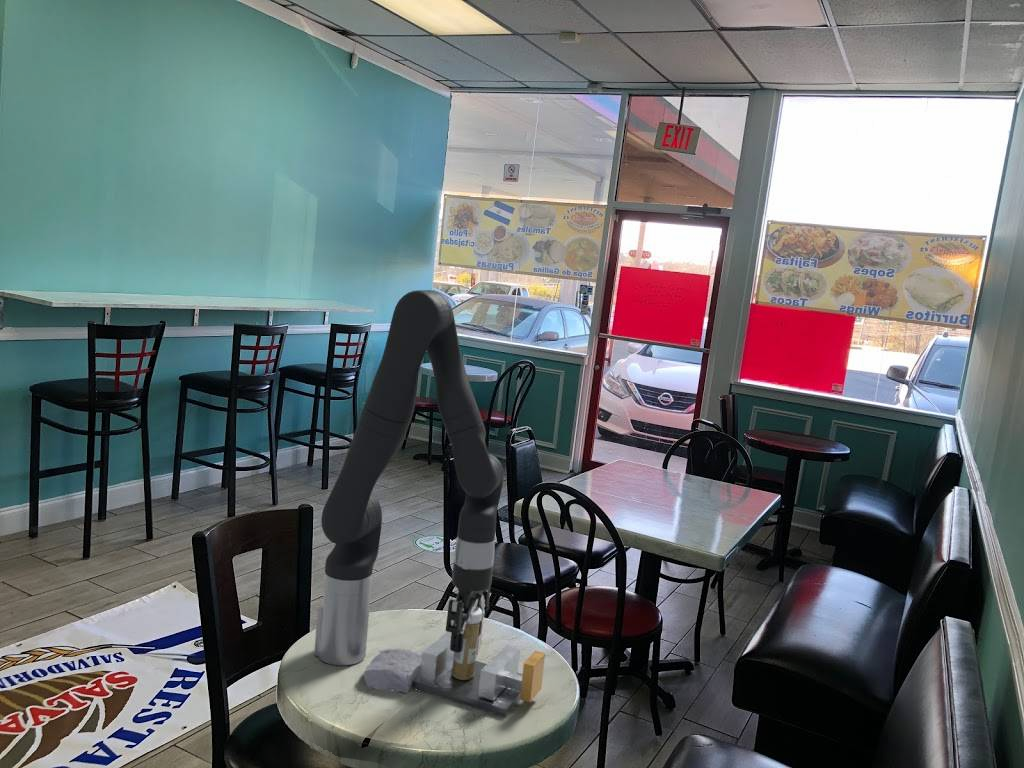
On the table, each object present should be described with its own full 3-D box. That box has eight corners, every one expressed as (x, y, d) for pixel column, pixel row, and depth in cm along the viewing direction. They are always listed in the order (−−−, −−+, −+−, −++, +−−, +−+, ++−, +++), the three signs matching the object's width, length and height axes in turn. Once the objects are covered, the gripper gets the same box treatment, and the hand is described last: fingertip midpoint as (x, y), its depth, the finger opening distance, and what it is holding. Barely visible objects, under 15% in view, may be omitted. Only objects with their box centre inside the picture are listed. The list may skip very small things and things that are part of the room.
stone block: (360, 696, 151) (411, 695, 149) (357, 671, 151) (409, 670, 149) (381, 670, 162) (429, 669, 161) (379, 646, 162) (427, 645, 160)
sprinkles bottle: (476, 680, 154) (485, 614, 152) (453, 681, 153) (461, 614, 150) (471, 668, 158) (479, 603, 156) (448, 668, 157) (456, 603, 155)
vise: (411, 688, 152) (415, 652, 151) (445, 659, 165) (448, 626, 164) (505, 717, 145) (509, 680, 144) (532, 684, 158) (536, 650, 157)
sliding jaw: (478, 696, 148) (481, 659, 147) (503, 669, 159) (506, 635, 158) (524, 709, 144) (528, 672, 144) (546, 682, 155) (550, 647, 155)
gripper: (471, 546, 161) (463, 625, 163) (438, 567, 147) (430, 651, 149) (506, 554, 158) (498, 634, 160) (476, 576, 145) (467, 662, 147)
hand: (465, 642), depth 155 cm, fingers open, 8 cm apart
